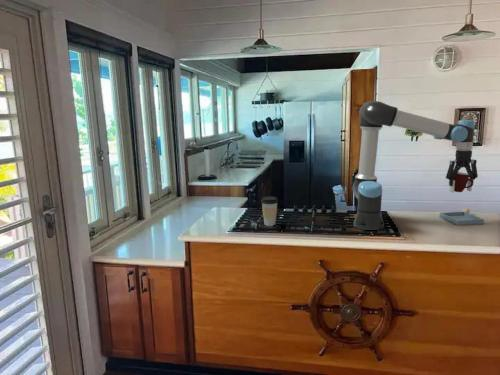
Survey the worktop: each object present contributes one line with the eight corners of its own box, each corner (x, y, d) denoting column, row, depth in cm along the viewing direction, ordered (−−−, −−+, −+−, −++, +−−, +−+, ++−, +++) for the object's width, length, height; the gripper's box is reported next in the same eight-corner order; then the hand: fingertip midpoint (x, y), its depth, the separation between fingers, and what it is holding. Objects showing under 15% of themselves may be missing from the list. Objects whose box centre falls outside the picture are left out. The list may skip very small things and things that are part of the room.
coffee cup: (281, 226, 203) (281, 199, 200) (265, 228, 199) (264, 201, 196) (273, 221, 211) (273, 195, 208) (258, 223, 208) (257, 197, 205)
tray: (457, 225, 197) (457, 220, 196) (439, 216, 212) (440, 212, 211) (483, 224, 198) (483, 219, 197) (464, 215, 213) (464, 211, 212)
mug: (469, 191, 205) (472, 173, 203) (473, 194, 197) (476, 175, 195) (447, 189, 207) (450, 171, 205) (451, 192, 200) (454, 173, 198)
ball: (465, 215, 214) (465, 209, 213) (461, 213, 217) (461, 207, 216) (470, 215, 214) (471, 209, 213) (466, 213, 217) (467, 207, 217)
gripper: (448, 151, 193) (445, 194, 197) (488, 149, 195) (484, 191, 200) (440, 150, 200) (437, 191, 205) (478, 148, 202) (474, 188, 207)
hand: (460, 191), depth 202 cm, fingers closed on mug, 9 cm apart
